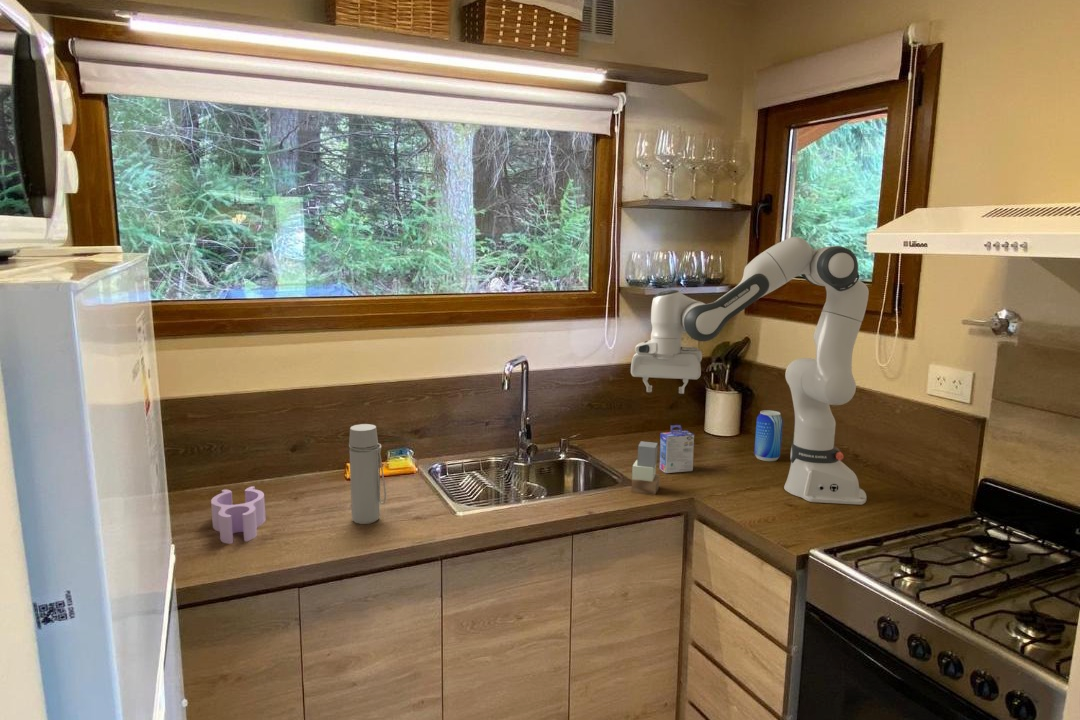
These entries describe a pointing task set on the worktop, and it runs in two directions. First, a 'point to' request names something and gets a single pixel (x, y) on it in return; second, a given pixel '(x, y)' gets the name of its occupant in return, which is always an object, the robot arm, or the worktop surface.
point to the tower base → (645, 486)
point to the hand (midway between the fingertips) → (665, 392)
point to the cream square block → (643, 472)
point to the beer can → (768, 435)
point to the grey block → (647, 454)
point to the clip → (238, 514)
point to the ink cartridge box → (676, 450)
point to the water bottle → (365, 473)
